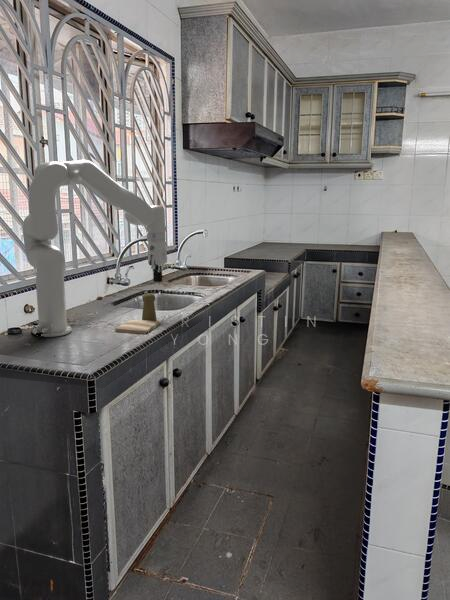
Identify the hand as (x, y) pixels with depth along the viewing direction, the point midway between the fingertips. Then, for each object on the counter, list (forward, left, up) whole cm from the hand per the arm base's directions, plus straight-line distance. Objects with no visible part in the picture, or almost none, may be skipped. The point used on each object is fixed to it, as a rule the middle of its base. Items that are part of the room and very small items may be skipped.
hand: (157, 281), depth 201 cm
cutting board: (-20, 0, -14) cm, 25 cm away
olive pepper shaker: (-9, 0, -15) cm, 17 cm away
